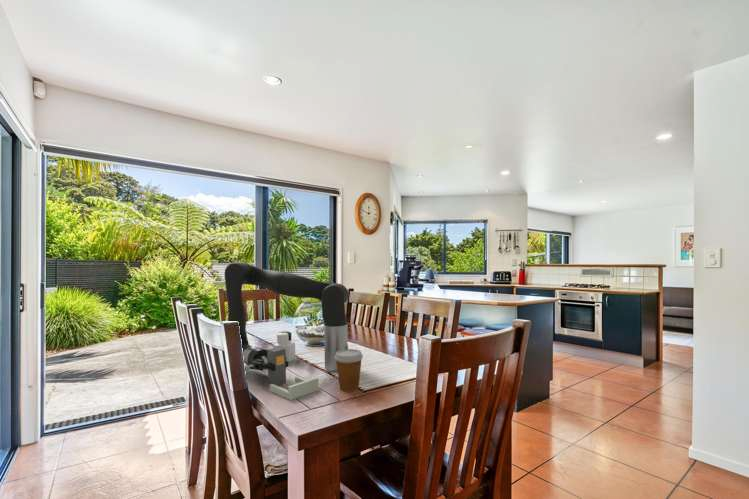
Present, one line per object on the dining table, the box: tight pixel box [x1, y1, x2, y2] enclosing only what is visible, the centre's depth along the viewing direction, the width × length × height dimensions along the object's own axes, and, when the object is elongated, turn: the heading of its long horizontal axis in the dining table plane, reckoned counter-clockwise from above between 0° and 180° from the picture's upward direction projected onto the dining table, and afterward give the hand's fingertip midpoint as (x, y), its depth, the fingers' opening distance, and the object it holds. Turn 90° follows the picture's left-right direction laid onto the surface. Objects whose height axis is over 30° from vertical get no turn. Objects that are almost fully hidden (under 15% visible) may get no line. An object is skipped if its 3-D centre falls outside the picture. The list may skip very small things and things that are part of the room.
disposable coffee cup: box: [335, 348, 364, 393], centre depth 125 cm, size 10×10×12 cm
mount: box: [269, 375, 320, 401], centre depth 124 cm, size 12×11×4 cm
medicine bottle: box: [272, 331, 296, 364], centre depth 160 cm, size 7×7×12 cm
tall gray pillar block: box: [266, 347, 287, 386], centre depth 131 cm, size 5×4×12 cm
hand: (280, 366), depth 129 cm, fingers closed on tall gray pillar block, 4 cm apart
